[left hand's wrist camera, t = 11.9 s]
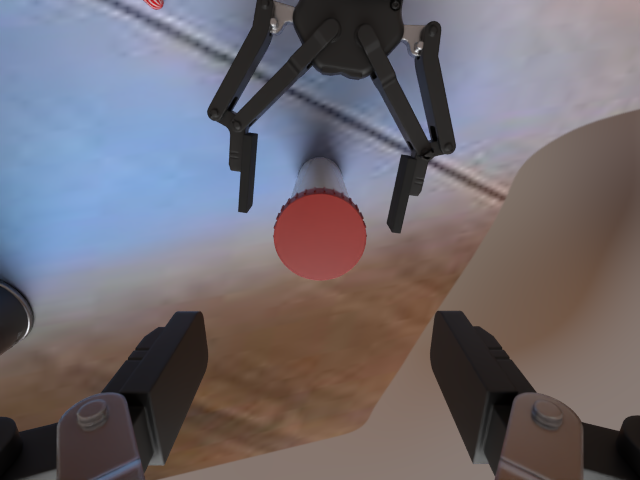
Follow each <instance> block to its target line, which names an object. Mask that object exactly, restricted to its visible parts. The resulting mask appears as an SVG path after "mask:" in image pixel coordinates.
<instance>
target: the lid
mask: <svg viewBox="0 0 640 480" xmlns="http://www.w3.org/2000/svg"><path fill="white" fill-rule="evenodd" d="M363 219H364V218H363V216H362V213H361V212H359V209H358V206H357V205H355V204H354V203H353V202H352V200H351V198H348V197H347V196H345V195H344V193H343V192H342V193H340V192H338V191H335V189H333V190H332V189H327V188H325V187H324V188H316V187H314V188H313V189H308V190H306V189H304V191H302V192H300V193H296V194H295V196H294V197H292V198H291V199H290V198H289V199H288V202H287V203H286V204H285V206H284V205H283V206H282V208H281V212H280V213H278V216H277V218H276V220H277V222H276V223H275V226H274V229H275V230H274V236H273V238H274V244H275V248H276V251H277V254H278V256H279V258H280V259H281V261H282V262H283V263H284V265H285V266H286V267H287V268H288V269H290V270H291V271H292V272H294V273H295V274H297V275H299V276H301V277H304V278H307V279H311V280H329V279H333V278H336V277H339V276H341V275H343V274H345V273H346V272H348V271H349V270H350V269H352V268H353V267H354V266H355V265H356V263H357V262H358V261H359V259H360V258H361V256H362V254H363V251H364V248H365V245H366V237H367V235H366V230H365V228H366V225H365V222H364V221H363Z"/></svg>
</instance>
